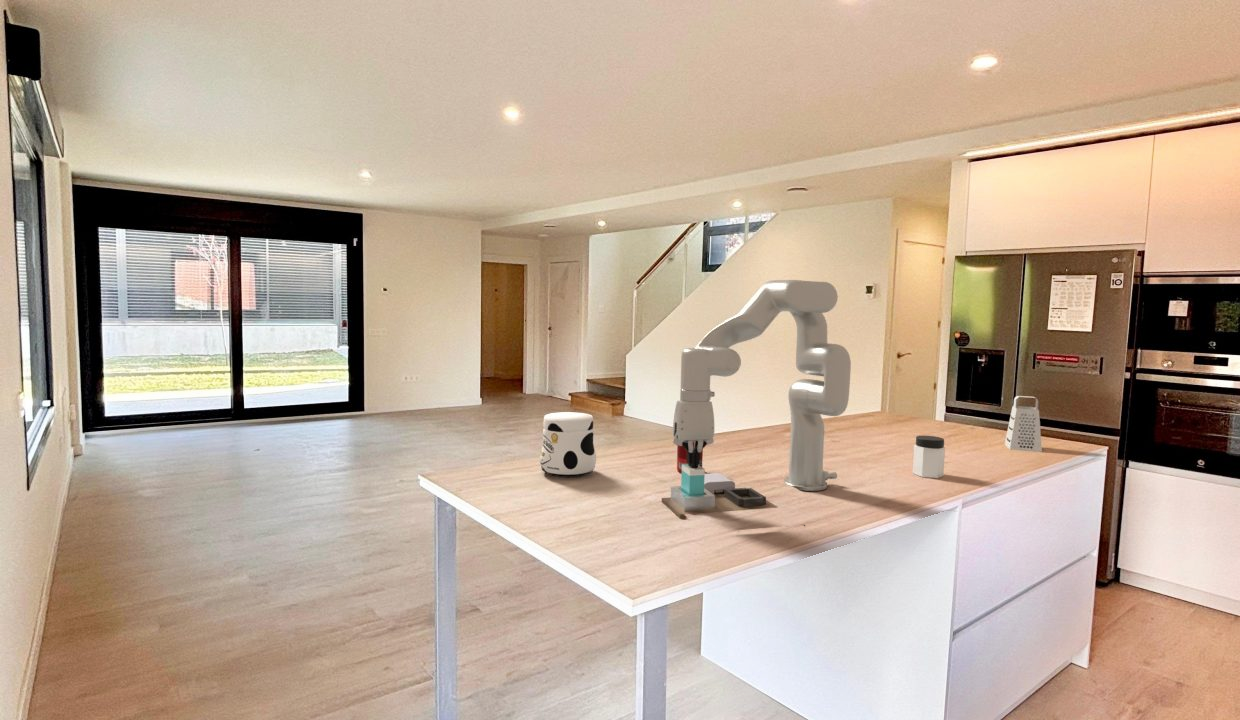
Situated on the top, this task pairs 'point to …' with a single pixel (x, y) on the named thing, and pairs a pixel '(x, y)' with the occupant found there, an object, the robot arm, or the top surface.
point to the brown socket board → (727, 502)
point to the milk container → (568, 444)
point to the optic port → (692, 500)
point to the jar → (929, 457)
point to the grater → (1024, 428)
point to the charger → (717, 483)
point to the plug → (692, 480)
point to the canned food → (685, 457)
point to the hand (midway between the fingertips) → (693, 466)
